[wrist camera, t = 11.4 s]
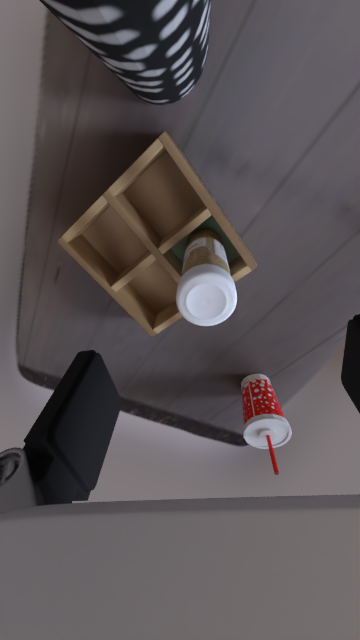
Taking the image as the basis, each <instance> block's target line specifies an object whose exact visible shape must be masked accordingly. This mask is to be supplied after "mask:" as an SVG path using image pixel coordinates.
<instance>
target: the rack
mask: <svg viewBox="0 0 360 640" xmlns="http://www.w3.org/2000/svg"><path fill="white" fill-rule="evenodd" d="M200 230H210V231H213V232H215V233H216V234H217V235H219V236H220V238H221V239H222V241H223V244H224V250H225V254H226V258H227V262H228V266H229V270H230V276H231V277H232V279H233V281H234V282H236V281H237V280H239V279H240V278H242V277H243V276H245V275H246V274H248V273H249V272H251V271H252V270H254V269H255V268H257V267H258V265H257V264H256V262H255V260H254V258H253V256H252V254H251V252H250V251H249V249H248V248H247V247H246V245H245V244H244V242H243V241H242V239H241V238H240V236H239V235H238V233H237V232H236V230H235V229H234V228H233V226H232V225H231V223H230V222H229V220H228V219H227V217H226V216H225V214H224V213H223V211H222V210H221V209H220V207H219V206H218V204H217V203H216V201H215V200H214V198H213V197H212V195H211V194H210V192H209V191H208V190H207V188H206V187H205V185H204V184H203V182H202V181H201V179H200V178H199V176H198V175H197V173H196V172H195V171H194V169H193V168H192V166H191V165H190V163H189V162H188V160H187V159H186V157H185V156H184V154H183V153H182V152H181V150H180V149H179V147H178V146H177V144H176V143H175V141H174V140H173V138H172V137H171V135H169V134H168V133H167V132H165V131H164V132H163V133H162V134H161V135H160V136H159V137H158V138H157V139H156V140H155V141H154V142H153V143H152V144H151V145H150V146H149V147H148V148H147V149H146V150H145V151H144V152H143V153H142V154H141V155H140V157H139V158H138V159H137V160H136V161H135V162H134V163H133V164H132V165H131V166H130V167H129V168H128V169H127V170H126V171H125V172H124V173H123V174H122V175H121V176H120V177H119V178H118V179H117V180H116V181H115V182H114V183H113V184H112V185H111V186H110V187H109V188H108V190H106V191H105V192H104V193H103V194H102V195H101V196H100V197H99V199H98V200H97V201H96V202H95V203H94V204H93V205H92V206H91V207H90V208H89V209H88V210H87V211H86V212H85V213H84V214H83V215H82V216H81V217H80V218H79V219H78V220H77V221H76V222H75V223H74V224H73V225H72V226H71V227H70V228H69V229H68V230H67V231H66V232H65V233H64V234H63V235H62V237H61V238H60V239H59V240H58V241H57V242H58V243H59V244H60V245H61V246H62V247H63V248H64V249H65V250H66V251H67V252H68V253H69V254H70V255H71V256H72V257H73V258H74V259H75V260H76V261H77V262H78V263H79V264H80V265H81V266H82V267H83V268H84V269H85V270H86V271H87V272H88V273H89V274H90V275H91V276H92V277H93V278H94V279H95V280H96V281H97V282H98V283H99V284H100V285H101V286H102V287H103V288H104V289H105V290H106V291H107V292H108V293H109V294H110V295H111V296H112V297H113V298H114V299H115V300H116V301H117V302H118V303H119V304H120V305H121V306H122V307H123V308H124V309H125V310H126V311H127V312H128V313H129V314H130V315H131V316H132V317H133V318H134V319H135V320H136V321H137V322H138V323H139V324H140V325H141V326H142V327H143V328H144V329H145V330H146V331H147V332H148V333H149V334H150V335H151V336H152V337H153V336H154V335H156V334H157V333H159V332H160V331H162V330H163V329H165V328H166V327H168V326H169V325H171V324H172V323H174V322H175V321H177V320H178V319H180V318H181V317H183V316H182V315H181V313H180V312H179V310H178V307H177V303H176V293H177V287H178V283H179V281H180V279H181V277H182V268H183V262H184V255H185V246H186V242H187V241H188V239H189V237H190V236H191V235H192V234H194V233H195V232H197V231H200Z"/></svg>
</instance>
